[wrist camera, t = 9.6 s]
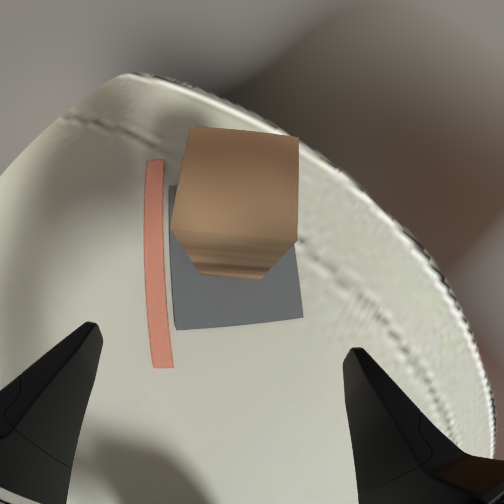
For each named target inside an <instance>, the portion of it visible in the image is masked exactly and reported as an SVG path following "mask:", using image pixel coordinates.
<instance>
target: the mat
mask: <svg viewBox="0 0 504 504" xmlns="http://www.w3.org/2000/svg"><path fill="white" fill-rule="evenodd" d="M177 187H178V185H177V186H169V223H170V225H171V219H172V214H173V208H174V203H175V197H176V192H177ZM170 255H171V274H172V290H173V303H174V315H175V325H176V330H188V329H202V328H215V327H227V326H237V325H247V324H256V323H265V322H273V321H281V320H289V319H296V318H303V309H302V300H301V292H300V284H299V276H298V269H297V261H296V254H295V247H294V244H293V246H292V247H291V248H290V249H289V250H288V251H287V252H286V253H285V254H284V255H283V256H282V257H281V258H280V259H279V260H278V262H277V263H276V264H275V265H274V266H273V267H272V268H271V269H270V270H269V271H268V272H267V273H266V274H265V275H264V276H263V277H262V278H261V279H260V280H251V279H240V278H229V277H219V276H209V275H201V274H200V273H199V271H198V270H197V268H196V267H195V265H194V264H193V262H192V261H191V259H190V258H189V257H188V255H187V254H186V252H185V251H184V249H183V248H182V246H181V245H180V243H179V241H178V240H177V238H176V237H175V235H174V234H173V232H172V231H171V229H170Z"/></svg>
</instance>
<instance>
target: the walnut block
mask: <svg viewBox="0 0 504 504" xmlns="http://www.w3.org/2000/svg"><path fill="white" fill-rule="evenodd" d="M298 181H299V138H298V137H292V136H285V135H278V134H271V133H263V132H254V131H245V130H235V129H223V128H208V127H191V129H190V133H189V137H188V141H187V145H186V150H185V154H184V158H183V163H182V168H181V172H180V177H179V182H178V187H177V192H176V197H175V203H174V208H173V214H172V219H171V225H170V229H171V231H172V232H173V234H174V235H175V237H176V238H177V240H178V241H179V243H180V245H181V246H182V248H183V249H184V251H185V252H186V254H187V255H188V257H189V258H190V259H191V261H192V262H193V264H194V265H195V267H196V268H197V270H198V271H199V273H200V274H201V275H209V276H219V277H229V278H240V279H251V280H260V279H261V278H262V277H263V276H264V275H265V274H266V273H267V272H268V271H269V270H270V269H271V268H272V267H273V266H274V265H275V264H276V263H277V262H278V260H279V259H280V258H281V257H282V256H283V255H284V254H285V253H286V252H287V251H288V250H289V249H290V248H291V247H292V246H293V244H294V243H295V242H296V241H297V226H298Z"/></svg>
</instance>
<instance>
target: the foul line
mask: <svg viewBox="0 0 504 504" xmlns="http://www.w3.org/2000/svg"><path fill="white" fill-rule="evenodd" d="M163 175H164V159H160V160H152V161H147V167H146V183H145V210H144V256H145V283H146V300H147V313H148V325H149V335H150V344H151V352H152V360H153V367H154V368H173V359H172V351H171V343H170V334H169V324H168V313H167V301H166V286H165V269H164V244H163Z"/></svg>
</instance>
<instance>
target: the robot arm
mask: <svg viewBox="0 0 504 504" xmlns="http://www.w3.org/2000/svg"><path fill="white" fill-rule="evenodd" d="M102 346H103V337H102V335H101V332H100V329H99V326H98V325H97V323H93V322H85V323H84V324H83V325H81V326H80V327H79V328H77V329H76V330H75V331H73V332H72V333H71V334H70V335H68V336H67V337H66V338H65V339H63V340H62V341H61V342H59V343H58V344H57V345H56V346H54V347H53V348H52V349H51V350H49V351H48V352H47V353H46V354H45V355H43V356H42V357H41V358H40V359H38V360H37V361H36V362H35V363H34V364H32V365H31V366H30V367H29V368H28V369H26V370H25V371H24V372H23V373H22V375H19V376H18V377H17V378H16V379H14V380H13V381H12V382H11V383H9V384H8V385H7V386H6V387H4V388H3V389H2V390H0V504H66V501H67V494H68V488H69V482H70V476H71V471H72V465H73V460H74V455H75V451H76V446H77V442H78V438H79V434H80V430H81V426H82V422H83V418H84V415H85V411H86V407H87V404H88V401H89V397H90V394H91V391H92V388H93V384H94V381H95V377H96V373H97V368H98V363H99V359H100V354H101V350H102ZM343 377H344V392H345V404H346V411H347V417H348V423H349V429H350V435H351V442H352V449H353V456H354V464H355V472H356V480H357V490H358V501H359V504H504V460H496V459H489V458H483V457H477V456H472V455H469V454H467V453H465V452H463V451H462V450H461V449H459V448H458V447H457V446H456V445H455V444H454V443H453V442H452V441H451V440H449V439H448V438H447V437H446V436H445V435H444V434H443V433H442V432H441V431H440V430H439V429H437V428H436V427H435V426H434V425H433V424H432V422H431V421H430V420H429V419H428V418H427V417H426V416H425V415H424V414H423V413H422V412H420V410H419V408H418V407H417V406H416V405H415V404H414V403H413V402H412V401H411V400H410V399H409V397H408V396H407V395H406V394H405V393H404V392H403V391H402V390H401V389H400V388H399V386H398V385H397V384H396V383H395V382H394V381H393V380H392V379H391V378H390V377H389V376H388V374H387V373H386V372H385V371H384V370H383V369H382V368H381V367H380V366H379V365H378V364H377V363H376V362H375V360H374V359H373V358H372V357H371V356H370V355H369V354H368V353H367V352H366V351H365V350H364V349H363V348H361V347H354V348H351V349H350V351H349V353H348V354H347V356H346V358H345V359H344V362H343Z"/></svg>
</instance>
